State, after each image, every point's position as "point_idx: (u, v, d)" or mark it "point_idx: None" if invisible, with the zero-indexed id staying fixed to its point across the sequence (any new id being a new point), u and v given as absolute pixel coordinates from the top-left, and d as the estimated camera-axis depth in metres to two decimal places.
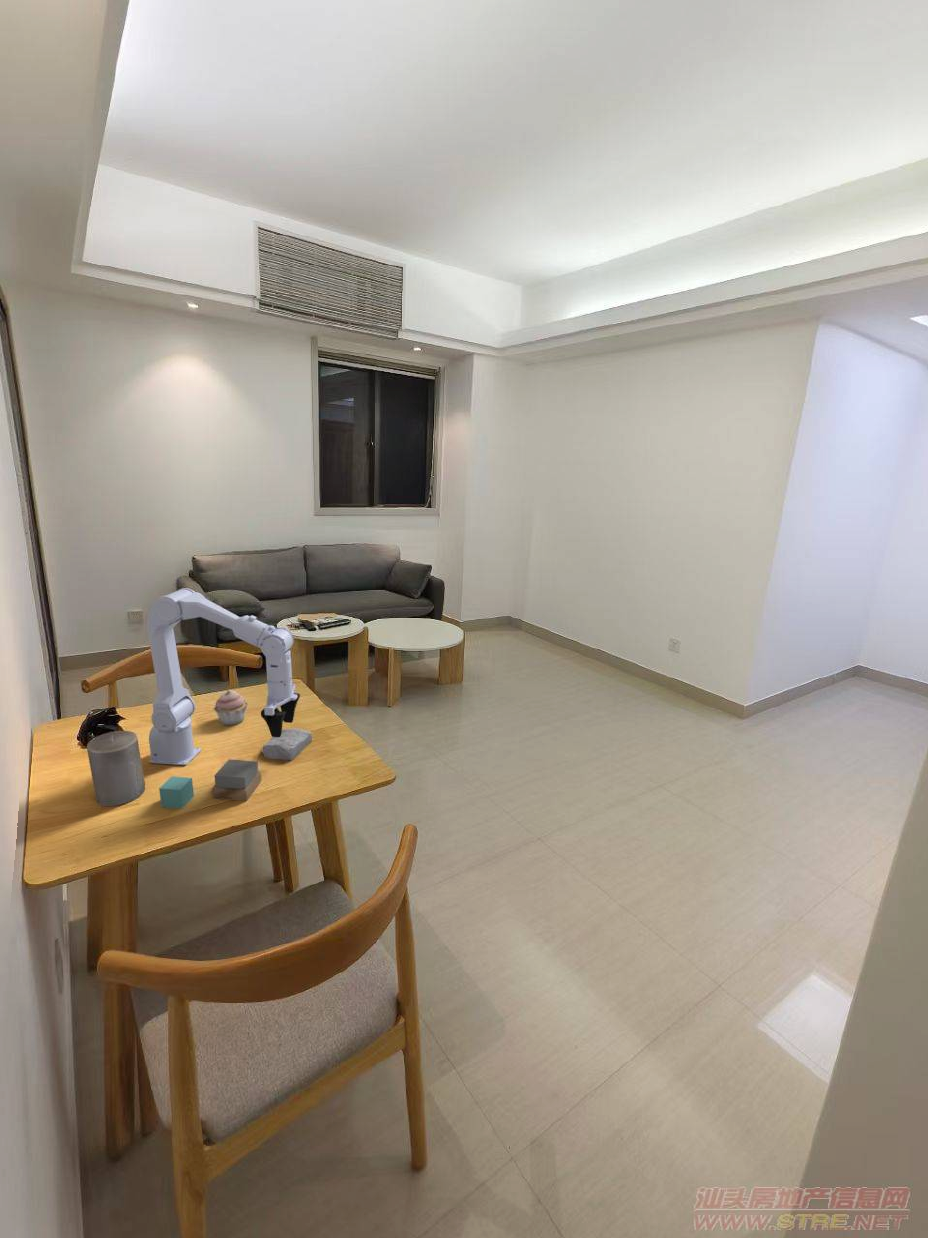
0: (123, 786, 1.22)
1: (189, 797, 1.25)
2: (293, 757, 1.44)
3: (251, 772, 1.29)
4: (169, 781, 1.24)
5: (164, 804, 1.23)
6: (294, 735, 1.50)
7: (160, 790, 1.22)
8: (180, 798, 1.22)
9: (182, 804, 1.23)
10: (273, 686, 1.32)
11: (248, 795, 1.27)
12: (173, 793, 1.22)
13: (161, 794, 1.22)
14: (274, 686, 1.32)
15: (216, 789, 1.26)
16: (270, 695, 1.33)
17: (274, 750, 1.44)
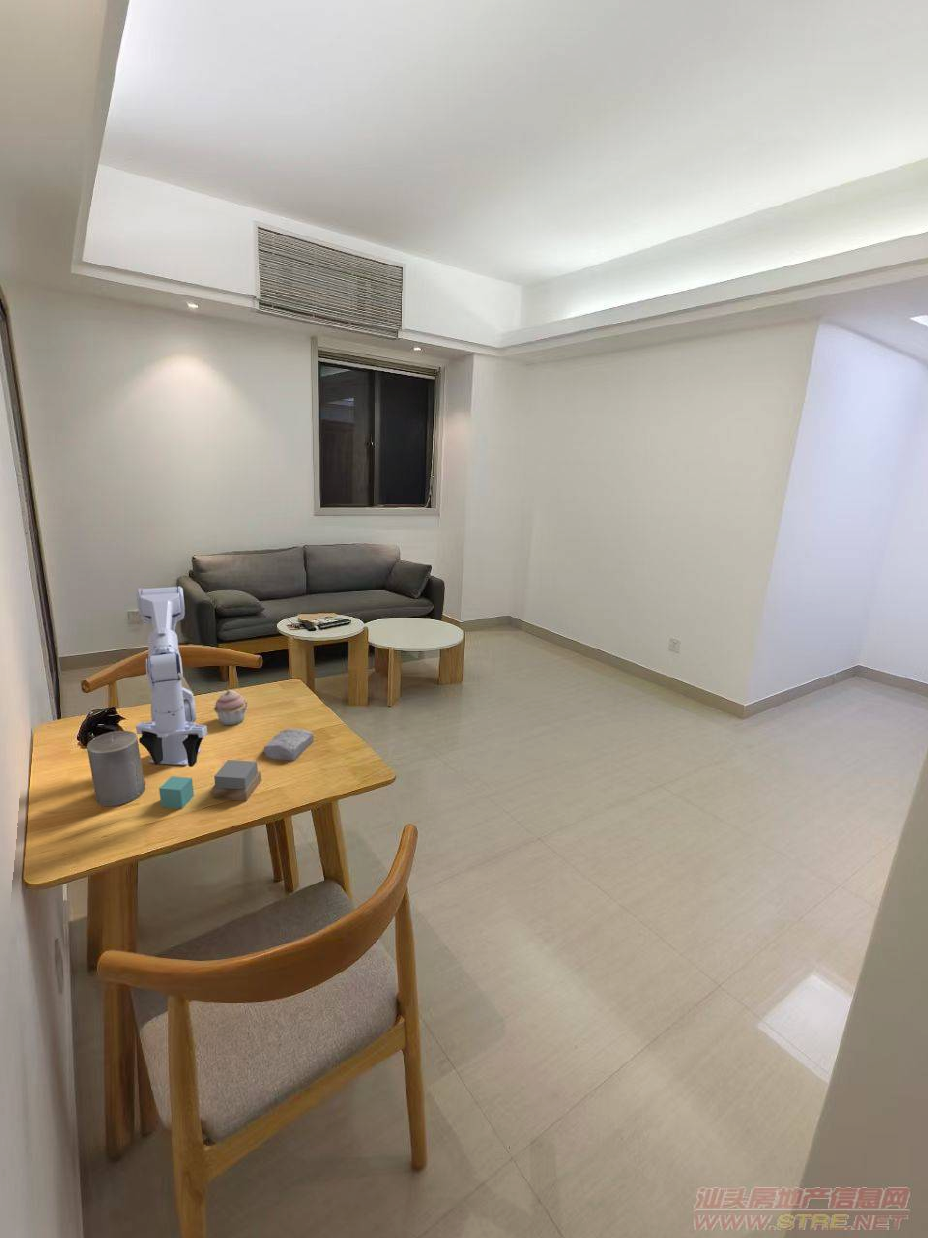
0: (123, 786, 1.22)
1: (189, 797, 1.25)
2: (295, 757, 1.44)
3: (251, 772, 1.29)
4: (169, 781, 1.24)
5: (164, 804, 1.23)
6: (295, 735, 1.50)
7: (160, 790, 1.22)
8: (180, 798, 1.22)
9: (182, 804, 1.23)
10: None
11: (248, 795, 1.27)
12: (173, 793, 1.22)
13: (161, 794, 1.22)
14: None
15: (216, 789, 1.26)
16: None
17: (276, 751, 1.44)
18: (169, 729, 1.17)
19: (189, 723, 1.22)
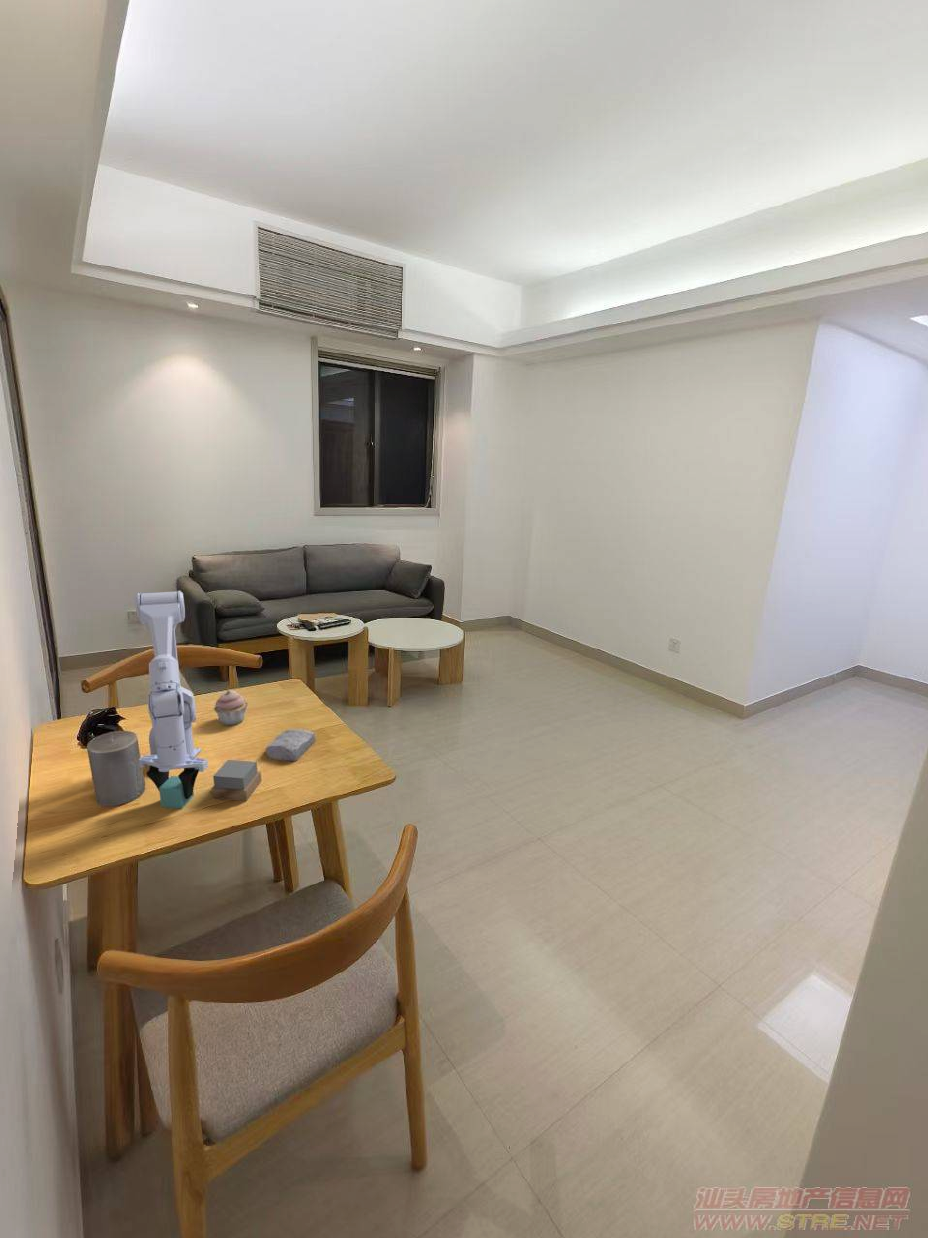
0: (123, 786, 1.22)
1: None
2: (297, 758, 1.43)
3: (250, 773, 1.29)
4: (169, 781, 1.24)
5: (164, 804, 1.23)
6: (297, 735, 1.50)
7: (160, 790, 1.22)
8: (180, 798, 1.22)
9: (182, 804, 1.23)
10: None
11: (248, 795, 1.27)
12: (173, 793, 1.22)
13: (161, 794, 1.22)
14: None
15: (216, 789, 1.26)
16: None
17: (278, 751, 1.44)
18: (170, 763, 1.19)
19: (190, 756, 1.24)
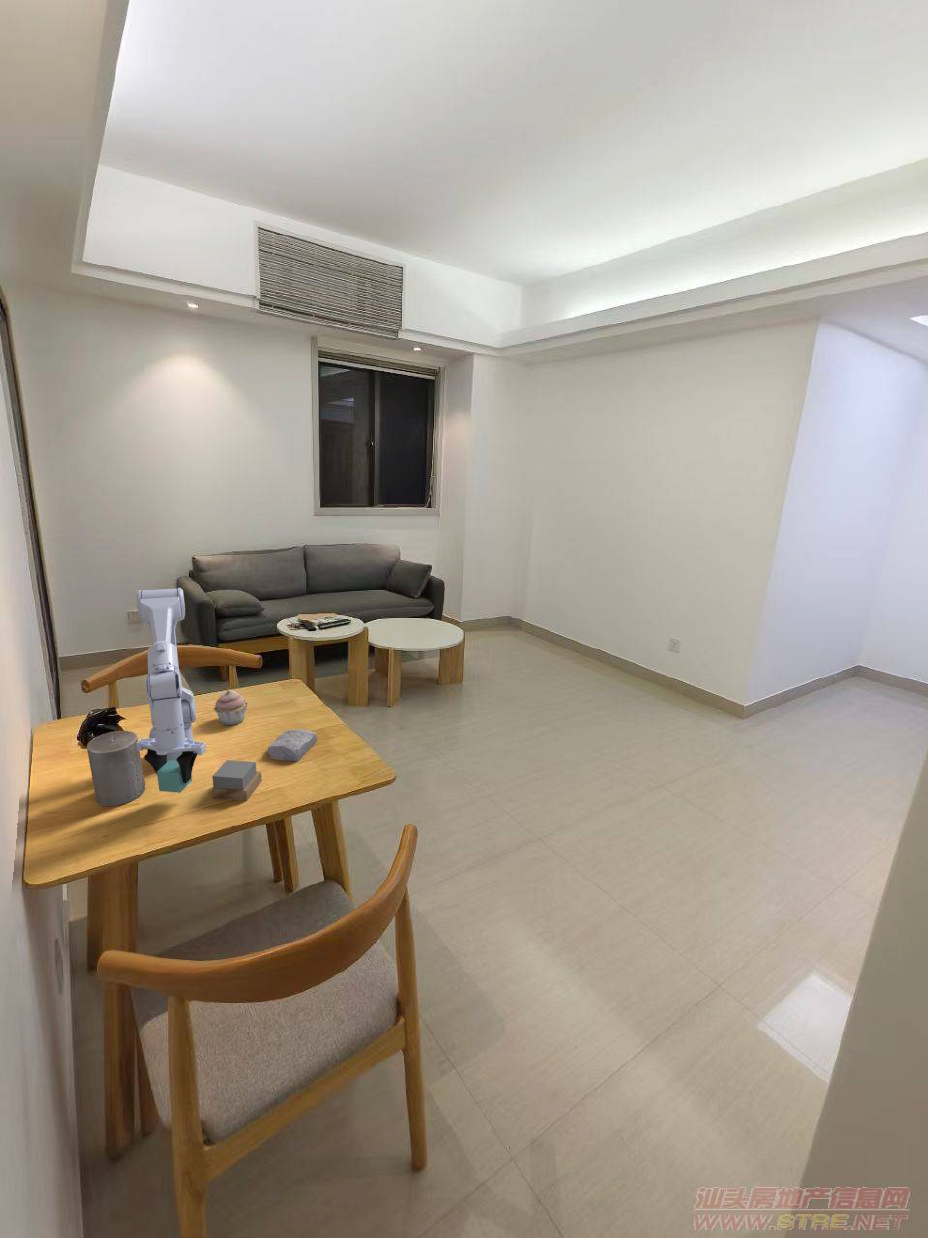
0: (123, 786, 1.22)
1: None
2: (299, 758, 1.43)
3: (249, 773, 1.29)
4: (167, 765, 1.23)
5: (162, 788, 1.22)
6: (299, 736, 1.49)
7: (158, 773, 1.21)
8: (178, 782, 1.21)
9: (180, 788, 1.22)
10: None
11: (248, 795, 1.27)
12: (171, 777, 1.21)
13: (159, 778, 1.21)
14: None
15: (216, 789, 1.26)
16: None
17: (280, 751, 1.43)
18: (168, 746, 1.18)
19: (188, 740, 1.23)
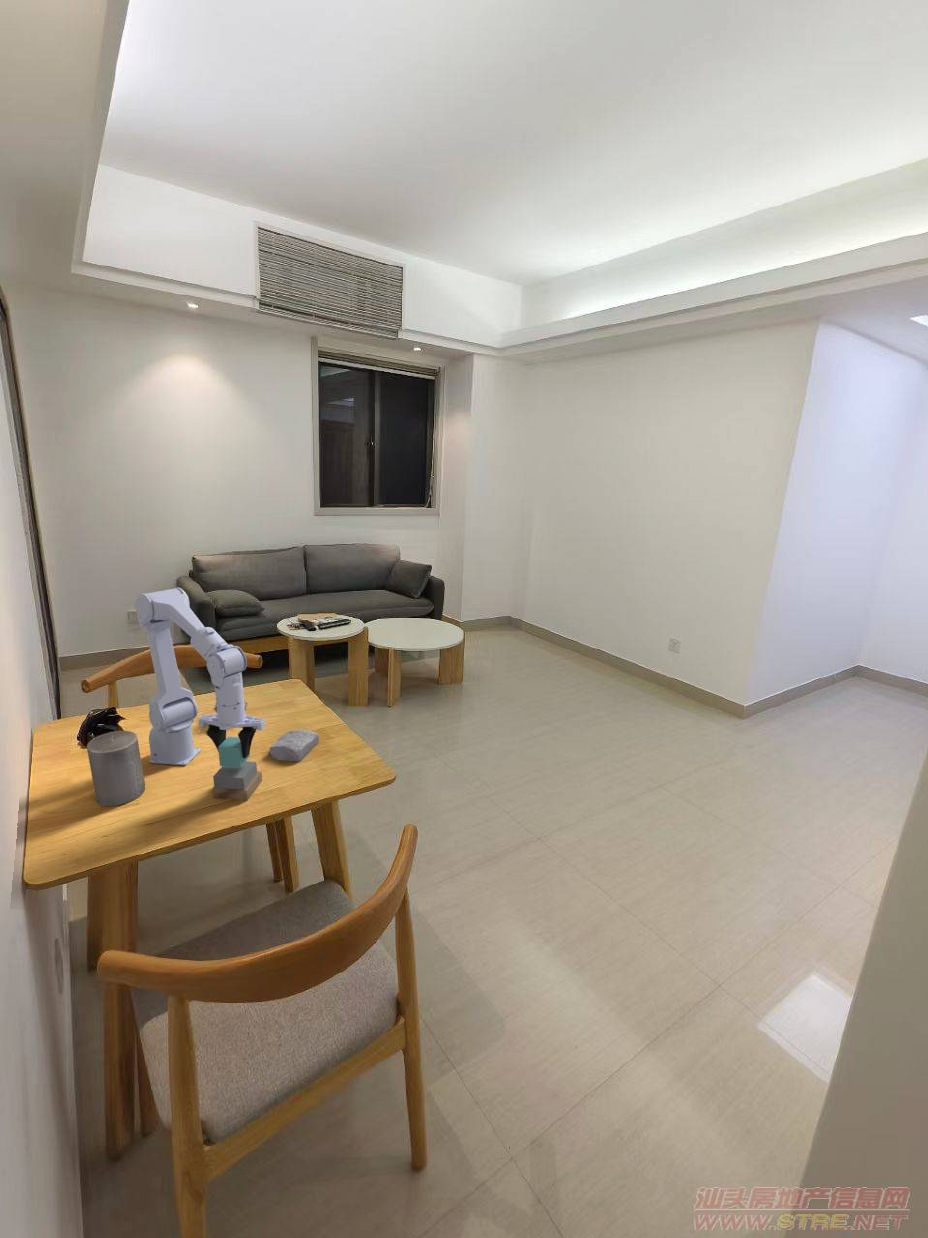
0: (123, 786, 1.22)
1: None
2: (301, 758, 1.43)
3: (250, 773, 1.29)
4: (227, 741, 1.27)
5: (222, 763, 1.26)
6: (301, 736, 1.49)
7: (219, 749, 1.25)
8: (238, 756, 1.25)
9: (240, 763, 1.26)
10: None
11: (249, 795, 1.27)
12: (232, 752, 1.25)
13: (220, 753, 1.25)
14: None
15: (217, 789, 1.26)
16: None
17: (282, 751, 1.43)
18: (230, 722, 1.22)
19: (248, 716, 1.27)
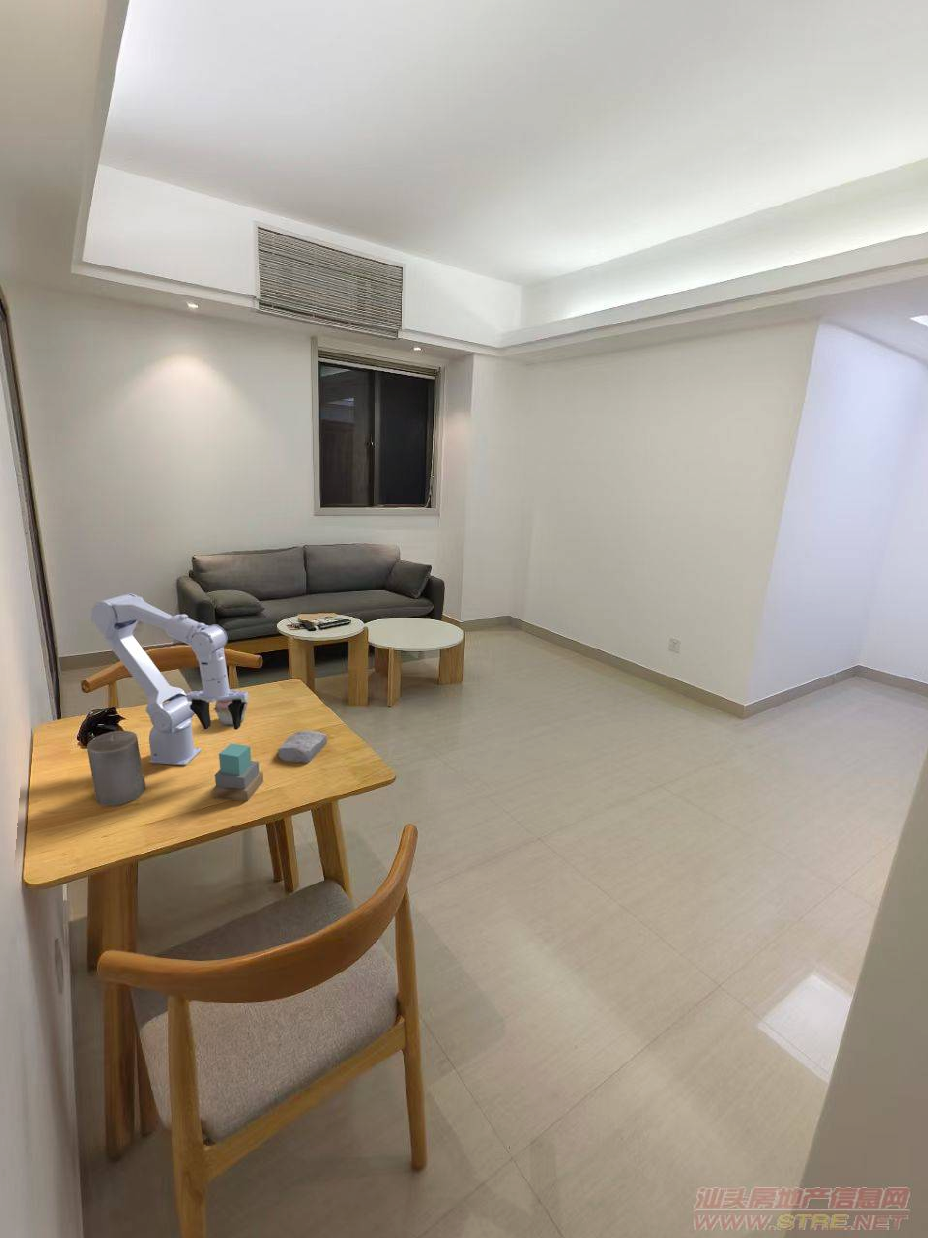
0: (123, 786, 1.22)
1: (246, 765, 1.29)
2: (310, 759, 1.43)
3: (252, 772, 1.29)
4: (229, 748, 1.28)
5: (223, 769, 1.27)
6: (309, 737, 1.49)
7: (220, 755, 1.26)
8: (238, 765, 1.25)
9: (239, 771, 1.26)
10: None
11: (249, 795, 1.27)
12: (231, 760, 1.25)
13: (220, 759, 1.26)
14: None
15: (217, 789, 1.26)
16: None
17: (291, 753, 1.43)
18: (216, 695, 1.32)
19: (232, 690, 1.36)
